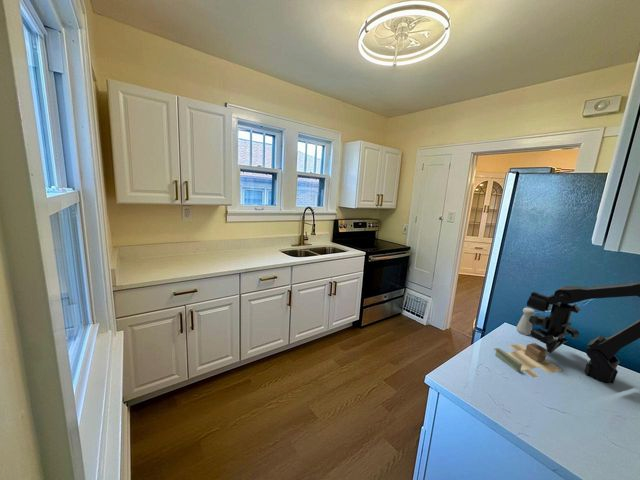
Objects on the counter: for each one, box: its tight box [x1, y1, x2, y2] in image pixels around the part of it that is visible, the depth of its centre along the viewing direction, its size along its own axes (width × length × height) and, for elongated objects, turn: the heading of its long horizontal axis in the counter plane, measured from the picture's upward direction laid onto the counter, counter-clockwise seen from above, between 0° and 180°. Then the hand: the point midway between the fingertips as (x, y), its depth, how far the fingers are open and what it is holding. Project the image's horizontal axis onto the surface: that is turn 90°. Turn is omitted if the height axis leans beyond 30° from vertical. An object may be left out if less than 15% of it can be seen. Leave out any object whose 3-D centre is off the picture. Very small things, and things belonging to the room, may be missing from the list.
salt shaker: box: [515, 307, 536, 336], centre depth 119 cm, size 6×6×13 cm
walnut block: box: [525, 342, 548, 362], centre depth 102 cm, size 4×4×4 cm
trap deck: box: [493, 343, 563, 378], centre depth 101 cm, size 18×16×4 cm
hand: (549, 352), depth 105 cm, fingers closed
